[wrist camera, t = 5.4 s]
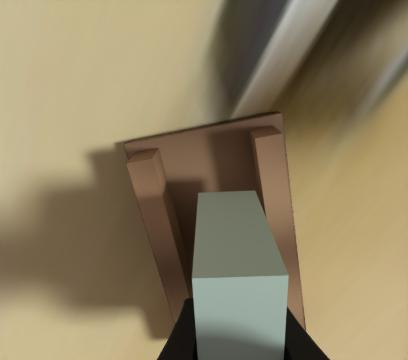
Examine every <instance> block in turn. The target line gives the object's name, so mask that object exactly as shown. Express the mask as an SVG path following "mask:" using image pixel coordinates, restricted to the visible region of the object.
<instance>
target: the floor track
mask: <svg viewBox="0 0 408 360" xmlns="http://www.w3.org/2000/svg"><path fill="white" fill-rule="evenodd" d="M124 147H125V150H126V153H127V157H128V160H129V161H128V162H127V163H126V165H127V168H128V171H129V175H130V178H131V181H132V185H133V188H134V191H135V194H136V198H137V201H138V204H139V208H140V211H141V214H142V218H143V221H144V224H145V228H146V231H147V234H148V238H149V241H150V244H151V247H152V251H153V254H154V257H155V261H156V264H157V267H158V271H159V274H160V277H161V281H162V284H163V287H164V291H165V294H166V297H167V301H168V304H169V307H170V310H171V314H172V317H173V320H174V324H176V322H177V320H178V317H179V315H180V312H181V310H182V307H183V304H184V300H186V299H187V298H193V287H192V270H193V257H194V244H195V230H196V217H197V204H198V193H206V192H231V191H256V194H257V196H258V199H259V201H260V204H261V206H262V209H263V212H264V214H265V217H266V219H267V222H268V224H269V227H270V229H271V232H272V234H273V237H274V239H275V242H276V245H277V247H278V250H279V252H280V255H281V257H282V260H283V262H284V265H285V267H286V270H287V273H288V275H289V278H288V294H287V306H288V308H289V309H290V311H291V312H292V314H293V315H294V316H295V318H296V319H297V321H298V322H299V323H300V325H301V326H302V327H303V328H304V330H305V331H306V326H305V316H304V307H303V298H302V289H301V280H300V271H299V262H298V253H297V244H296V235H295V226H294V217H293V208H292V199H291V190H290V181H289V172H288V163H287V154H286V145H285V136H284V127H283V118H282V113H281V112H275V113H270V114H265V115H260V116H255V117H250V118H245V119H240V120H235V121H230V122H225V123H220V124H215V125H210V126H205V127H200V128H195V129H190V130H185V131H180V132H175V133H170V134H165V135H160V136H155V137H150V138H145V139H140V140H135V141H130V142H126V143H125V144H124Z"/></svg>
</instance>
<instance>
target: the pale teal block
mask: <svg viewBox="0 0 408 360" xmlns="http://www.w3.org/2000/svg"><path fill="white" fill-rule="evenodd" d="M288 278H289V275H288V273H287V270H286V267H285V265H284V262H283V260H282V257H281V255H280V252H279V250H278V247H277V245H276V242H275V239H274V237H273V234H272V232H271V229H270V227H269V224H268V222H267V219H266V217H265V214H264V212H263V209H262V206H261V204H260V201H259V199H258V196H257V194H256V191H231V192H206V193H198V204H197V217H196V230H195V244H194V257H193V270H192V287H193V300H194V313H195V327H196V340H197V353H198V360H284V345H285V328H286V311H287V294H288Z"/></svg>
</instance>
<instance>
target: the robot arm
mask: <svg viewBox="0 0 408 360" xmlns="http://www.w3.org/2000/svg"><path fill="white" fill-rule="evenodd" d="M157 360H198V353H197V340H196V327H195V313H194V300H193V298H187V299H186V300H184V304H183V307H182V310H181V312H180V315H179V317H178V320H177V322H176V324H175V326H174V328H173V331H172V333H171V335H170V337H169V339H168V341H167V343H166V344H165V346H164V348H163V350H162V352H161V353H160V355H159V357H158V359H157ZM284 360H330V359H329V358H328V357H327V356H326V355H325V354H324V352H323V351H322V350H321V349H320V348H319V347H318V346H317V344H316V343H315V342H314V341H313V340H312V338H311V337H310V336H309V335H308V333H307V332H306V331H305V330H304V328H303V327H302V326H301V325H300V323H299V322H298V321H297V319H296V318H295V316H294V315H293V314H292V312H291V311H290V309H289V308H288V306H287V311H286V328H285V345H284Z"/></svg>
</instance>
